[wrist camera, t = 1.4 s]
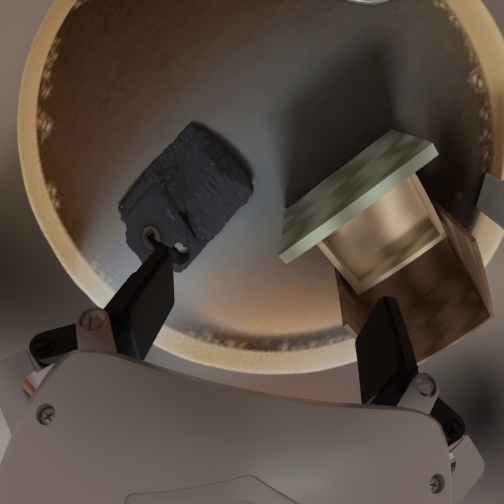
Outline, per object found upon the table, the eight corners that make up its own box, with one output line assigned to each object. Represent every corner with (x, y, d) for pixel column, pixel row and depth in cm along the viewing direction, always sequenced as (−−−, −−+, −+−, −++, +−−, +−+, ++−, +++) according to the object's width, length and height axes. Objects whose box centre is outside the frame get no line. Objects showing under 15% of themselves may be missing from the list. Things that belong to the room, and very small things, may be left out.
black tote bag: (273, 195, 36) (270, 208, 32) (175, 275, 46) (164, 291, 42) (195, 113, 32) (181, 114, 27) (113, 212, 41) (97, 225, 37)
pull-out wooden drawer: (391, 129, 28) (432, 142, 18) (441, 217, 32) (481, 260, 22) (284, 210, 36) (278, 255, 26) (346, 282, 40) (357, 339, 30)
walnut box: (431, 198, 31) (476, 239, 21) (461, 268, 35) (493, 316, 25) (334, 266, 39) (343, 326, 29) (378, 321, 43) (391, 378, 33)
